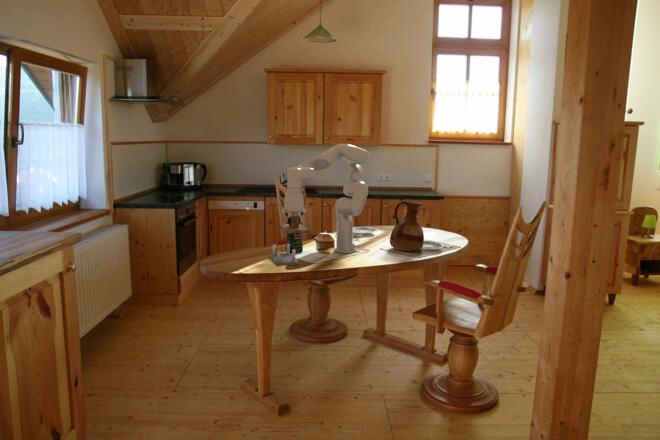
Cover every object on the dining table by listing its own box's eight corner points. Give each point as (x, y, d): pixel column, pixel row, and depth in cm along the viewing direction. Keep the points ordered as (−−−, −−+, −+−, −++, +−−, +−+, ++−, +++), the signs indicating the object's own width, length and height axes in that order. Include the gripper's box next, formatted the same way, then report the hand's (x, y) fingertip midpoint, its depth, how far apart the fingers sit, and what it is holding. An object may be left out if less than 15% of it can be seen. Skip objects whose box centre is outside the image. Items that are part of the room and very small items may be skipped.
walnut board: (300, 226, 294) (300, 213, 292) (309, 232, 275) (309, 218, 274) (279, 226, 290) (279, 213, 289) (287, 233, 271) (287, 219, 270)
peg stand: (290, 255, 295) (290, 242, 294) (298, 264, 276) (298, 250, 275) (269, 257, 292) (269, 244, 290) (276, 266, 273) (276, 252, 271)
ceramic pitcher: (423, 254, 301) (424, 202, 295) (388, 252, 305) (389, 201, 299) (423, 247, 320) (425, 198, 314) (390, 245, 323) (392, 197, 318)
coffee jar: (290, 254, 298) (289, 222, 295) (284, 251, 305) (283, 220, 301) (305, 252, 303) (305, 221, 300) (298, 250, 310) (298, 219, 306)
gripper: (307, 190, 285) (307, 223, 288) (277, 190, 280) (277, 223, 283) (311, 191, 278) (310, 225, 281) (280, 191, 273) (280, 226, 276)
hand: (293, 224), depth 282 cm, fingers closed on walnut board, 4 cm apart
